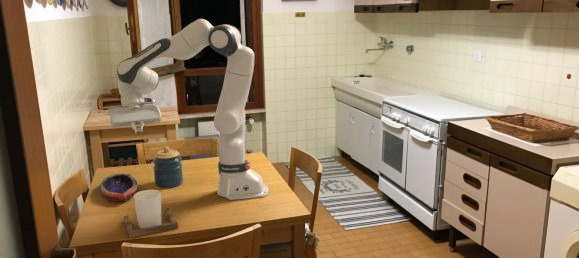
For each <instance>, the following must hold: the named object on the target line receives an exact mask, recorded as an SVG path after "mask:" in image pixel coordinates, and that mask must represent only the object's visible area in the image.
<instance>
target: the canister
mask: <svg viewBox="0 0 579 258" xmlns="http://www.w3.org/2000/svg"><path fill="white" fill-rule="evenodd" d="M153 156H154V158H153V159H152V162H153V167H152V168H153V177H154V180H153V181H154V184H155V185H154V186H155V187H157V188H160V189H161V188H162V189H171V188H176V187H180V185H182V184H183V182H184V175H183V164H182V160H183V158H182V156H181V155H180V152H179V151H177V150H175V149H170V147H168V146H165V147H163V149H162V150H159V151H157V152H156V153H154V154H153Z"/></svg>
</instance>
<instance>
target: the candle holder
mask: <svg viewBox="0 0 579 258" xmlns="http://www.w3.org/2000/svg"><path fill="white" fill-rule="evenodd" d="M132 197H133V201H134V209H135V214H136V215H135V216H136V219H137V220H136V221H137V226H138V229H142V228H147V227H152V226H157V225H162V224H163V223H162V221H163V218H162V192H161V191H160V190H158V189H145V190H140V191H138V192H137V191H136V193H135V194H134V195H133V196H132Z"/></svg>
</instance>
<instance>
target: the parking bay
mask: <svg viewBox="0 0 579 258" xmlns="http://www.w3.org/2000/svg"><path fill="white" fill-rule="evenodd" d="M164 213H165V215H166V218H167V219H168V221H169V222H167V223H161V225H157V226H152V227H147V228H142V229H141V228H138V229H133V227H132V224H131V220H130V218H129V216H128V215H123V223H124V225H125V228H126V230H127V231H126V232H127V235H128V237H129V239H130V238H131V239H132V238H137V237H141V236H147V235H150V234H157V233H160V232H166V231H170V230H172V231H173V230H176V229H179V224H178V222H177V219H176V218H175V216H174V214H173V213H172V211H171V209H170V208H169V207H166V208H165V209H164Z"/></svg>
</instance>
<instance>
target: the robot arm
mask: <svg viewBox="0 0 579 258" xmlns="http://www.w3.org/2000/svg"><path fill="white" fill-rule="evenodd" d="M242 42H243V35H242V32H241V31H240V29H239V28H238V27H236V26H234V25H230V24H219V25H216V26H213V25H212V24H211V23H210V22H209V21H208V20H206V19H204V18H198V19H196V20H195V21H193V22H190V23H189V24H188V25H187V26H185V27H184V28H183V29H181V30H180V31H179V32H177V33H176V34H174V35H172V36H170V37H165V38H161V39H158V40H157V41H155V42H153V43H152V44H150V45H148V46H147V47H146V48H143V49H142V50H141V51H139V52H137V53H136V54H135V55H132V56H130V57H127V58H126V59H123V60H122V61H121V62H119V64H118V65H117V68H116V74H117V89H118V92H119V95H120V102H121V105H116V106H110V107H109V108H108V109H107V114H108V116H110V119H109V120H110V127H112V128H121V127H131V129H132V130H133V131H134V133H135V134H141V133H143V132H144V130H143V129H144V126H145V125H148V124H156V123H157V124H159V123H161V121H162V117H163V115H162V112H161V110H160V108H159V106H158V105H157V104H156V101H155V98H154V97H153V98H152V97H148V96H147V97H146V96H144V95H147V94H150V93H151V92H153V91H154V90H156V88H157V87H158V85H159V83H160V78H159V75H158V73H157V72H156V71H155V70H154V69H153V70H152V69H151V68H149V67H147V66H148V65H149V64H151V63H153V62H155V61H156V60H158V59H162V58H171V59H175V60H180V61H186V60H190V59H192V58H193V57H195V56H196V55H197V54H199V53H200V52H201V51H202V50H203V49H204V48H206V47H207V46H210V48H211V49H212V50H214V51H215V52H217V53H218V54H221V56H224V57H225V58H227V65H226V69H225V74H224V80H223V84H222V89H221V91H220V95H219V99H218V102H217V106H216V111H215V115H214V118H213V125H214V128H215V129H216V131H217V132H219V136H218V144H217V145H218V163H217V166H218V167H217V168H218V169H217V170H218V175H219V178H218V179H219V180H218V187H217V191H216V192H217V193H216V194H217V195H218V196H219V197H223V198H226V199H227V200H231V201H235V200H244V199H253V198H254V199H255V198H264V197H266V196H268V194H269V186H268V185H267V184H266V183H264V181H263V177H262V175H260V173H258V172H256V171H254V170H253V169H252V168H251V162H250V160H247V159H246V153H245V151H246V150H245V139H246V138H245V136H246V134H245V133H246V109H245V108H246V103H247V100H248V97H249V93H250V89H251V85H252V79H253V75H254V66H255V52H254V50H253V49H251V48H250V47H248V46H245V45H243V44H242ZM136 126H140V127H136Z"/></svg>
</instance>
